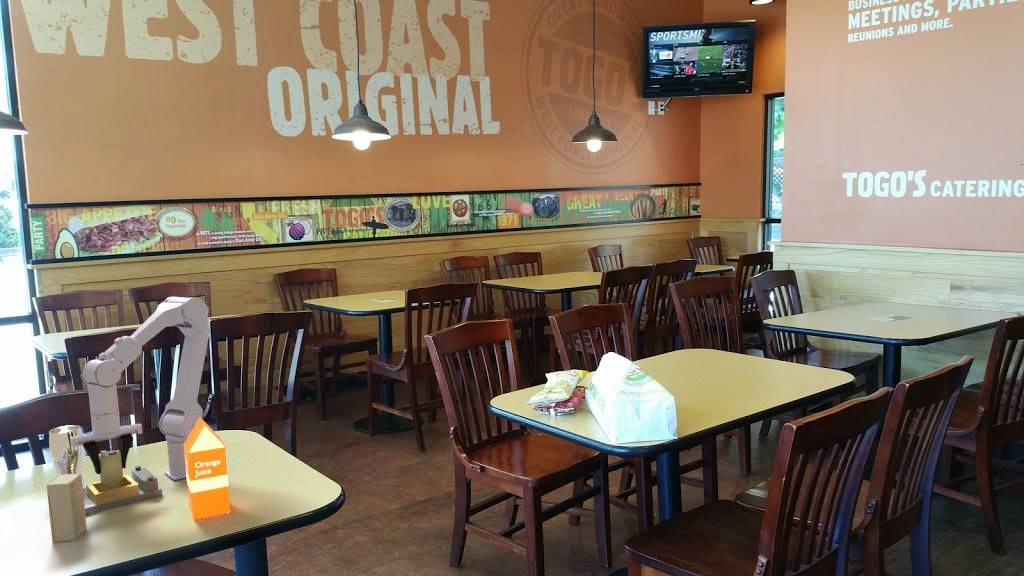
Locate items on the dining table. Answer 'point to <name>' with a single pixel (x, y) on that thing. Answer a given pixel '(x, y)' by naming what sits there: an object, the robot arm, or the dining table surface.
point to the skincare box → (66, 507)
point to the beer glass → (66, 451)
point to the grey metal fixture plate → (121, 491)
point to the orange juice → (206, 472)
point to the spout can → (110, 466)
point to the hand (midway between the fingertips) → (110, 470)
